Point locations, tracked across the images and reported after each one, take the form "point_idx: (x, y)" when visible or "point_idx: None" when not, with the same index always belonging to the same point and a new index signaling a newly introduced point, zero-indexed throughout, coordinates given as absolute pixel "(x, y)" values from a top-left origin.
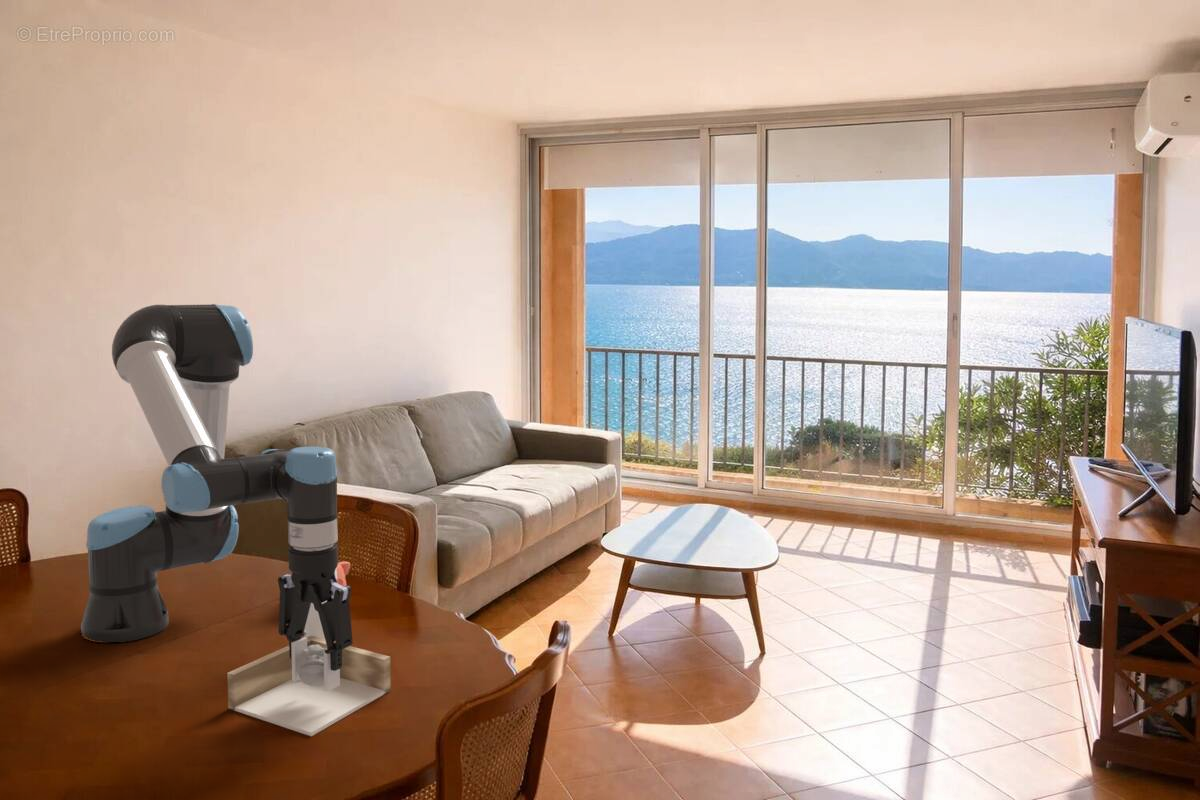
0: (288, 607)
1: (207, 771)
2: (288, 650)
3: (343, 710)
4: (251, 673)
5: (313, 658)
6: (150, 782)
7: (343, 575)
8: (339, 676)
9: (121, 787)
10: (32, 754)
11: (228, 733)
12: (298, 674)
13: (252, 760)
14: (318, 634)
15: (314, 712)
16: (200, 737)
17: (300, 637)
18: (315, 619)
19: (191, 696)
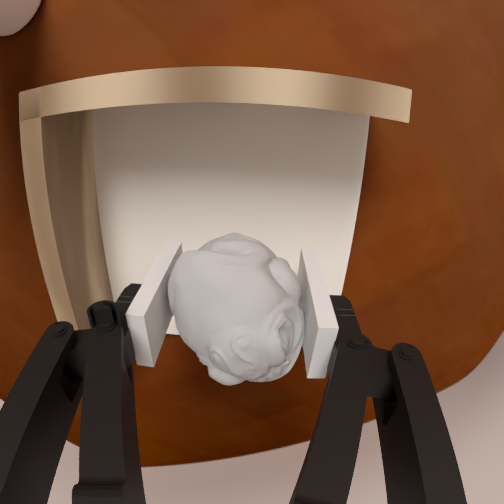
0: (49, 448)
1: (252, 432)
2: (51, 217)
3: (337, 250)
4: (88, 327)
5: (276, 376)
6: (214, 452)
7: None
8: (318, 263)
9: (197, 460)
10: (71, 436)
11: (186, 376)
12: None
13: (286, 406)
14: (6, 16)
15: None
16: (163, 392)
17: (128, 334)
18: None
19: (29, 308)
